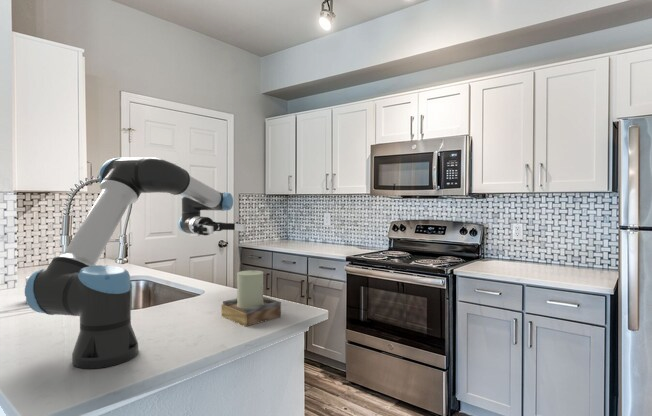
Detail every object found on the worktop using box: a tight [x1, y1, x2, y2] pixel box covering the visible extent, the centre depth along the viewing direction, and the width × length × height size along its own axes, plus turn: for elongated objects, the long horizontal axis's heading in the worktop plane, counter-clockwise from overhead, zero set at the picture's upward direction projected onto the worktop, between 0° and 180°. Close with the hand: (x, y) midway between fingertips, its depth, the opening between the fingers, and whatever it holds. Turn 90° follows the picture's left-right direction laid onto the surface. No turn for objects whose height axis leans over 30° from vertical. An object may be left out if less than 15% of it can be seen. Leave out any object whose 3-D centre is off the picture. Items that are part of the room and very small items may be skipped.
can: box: [236, 269, 264, 309], centre depth 137 cm, size 9×9×12 cm
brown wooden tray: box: [221, 296, 282, 327], centre depth 137 cm, size 15×15×5 cm
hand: (229, 229), depth 146 cm, fingers open, 13 cm apart
